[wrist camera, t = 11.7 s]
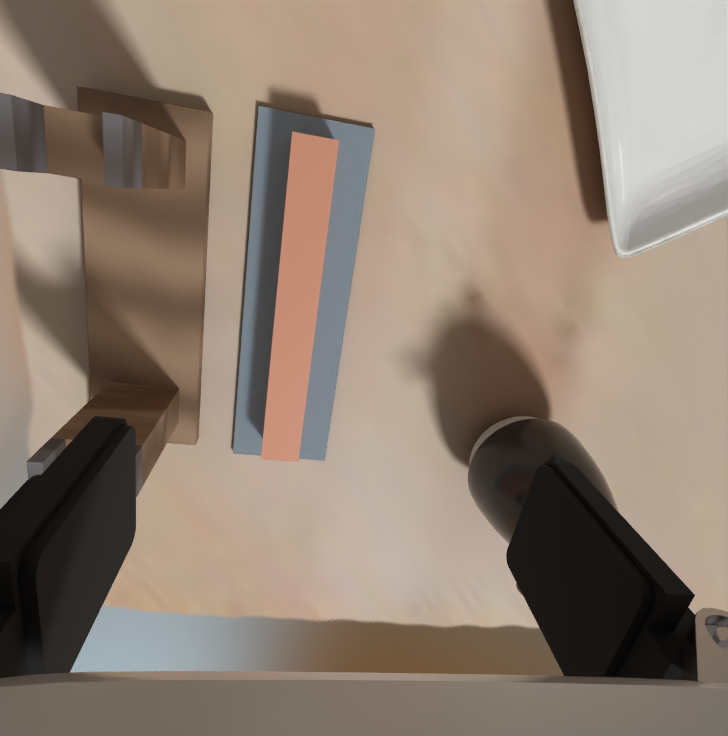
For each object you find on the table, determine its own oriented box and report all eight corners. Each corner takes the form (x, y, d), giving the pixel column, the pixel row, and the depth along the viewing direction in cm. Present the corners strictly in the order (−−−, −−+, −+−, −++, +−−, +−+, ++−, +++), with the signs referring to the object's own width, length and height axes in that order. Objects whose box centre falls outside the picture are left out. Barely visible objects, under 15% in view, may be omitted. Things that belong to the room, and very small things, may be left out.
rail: (293, 136, 32) (292, 131, 29) (336, 144, 33) (339, 140, 30) (264, 440, 40) (260, 459, 37) (299, 443, 41) (298, 461, 38)
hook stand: (85, 90, 30) (-56, 26, 18) (212, 114, 31) (156, 69, 20) (98, 429, 39) (7, 533, 27) (198, 438, 40) (153, 540, 28)
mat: (259, 106, 32) (258, 105, 31) (374, 129, 33) (374, 128, 32) (233, 450, 41) (232, 453, 40) (324, 458, 42) (324, 460, 42)
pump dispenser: (436, 433, 42) (499, 554, 28) (540, 381, 42) (658, 479, 28) (476, 511, 46) (550, 653, 32) (572, 465, 45) (691, 589, 31)
